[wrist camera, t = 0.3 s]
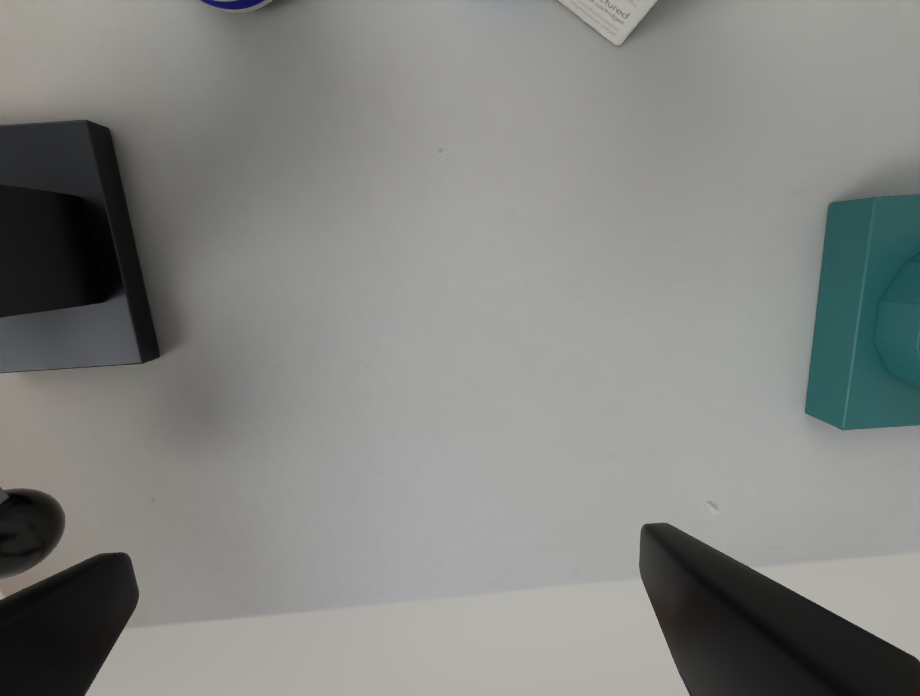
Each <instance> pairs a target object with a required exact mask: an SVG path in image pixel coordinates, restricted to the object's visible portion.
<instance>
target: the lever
mask: <svg viewBox="0 0 920 696" xmlns="http://www.w3.org/2000/svg"><path fill="white" fill-rule="evenodd" d="M64 528H65V514H64V511H63V509H62V507H61V505H60V504H59V502H58V501H57V500H56V499H54V498H53V497H52V496H50V495H49V494H47V493H44V492H42V491H38V490H34V489H26V488H19V489H9V490H2V488H1V487H0V579H3V578H8V577H11V576H14V575H17V574H20V573H22V572H24V571H27V570H29V569H30V568H32V567H34V566H35V565H37V564H38V563H40V562H41V561H42V560H44V559H45V558H46V557H47V556H48V555H49V554H50V553H51V552H52V551H53V550H54V549H55V547H56V546H57V544H58V543H59V541H60V539H61V537H62V535H63V532H64Z"/></svg>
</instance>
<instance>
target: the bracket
mask: <svg viewBox="0 0 920 696" xmlns="http://www.w3.org/2000/svg"><path fill="white" fill-rule="evenodd" d="M159 357H160V355H159V350H158V346H157V341H156V337H155V332H154V328H153V323H152V319H151V314H150V310H149V305H148V301H147V296H146V292H145V287H144V283H143V279H142V274H141V270H140V265H139V261H138V256H137V252H136V247H135V243H134V238H133V234H132V229H131V225H130V220H129V216H128V211H127V207H126V202H125V198H124V193H123V189H122V184H121V180H120V175H119V171H118V166H117V162H116V157H115V153H114V148H113V144H112V139H111V135H110V130H109V128H107V127H105V126H102V125H99V124H96V123H93V122H91V121H88V120H75V121H60V122H45V123H30V124H15V125H0V373H10V372H25V371H40V370H55V369H70V368H85V367H100V366H115V365H130V364H143V363H146V362H149V361H151V360H154V359H157V358H159Z"/></svg>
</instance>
